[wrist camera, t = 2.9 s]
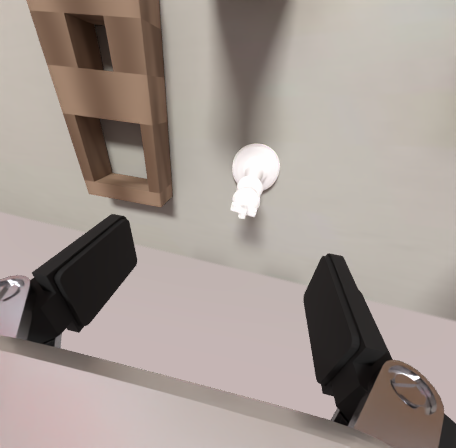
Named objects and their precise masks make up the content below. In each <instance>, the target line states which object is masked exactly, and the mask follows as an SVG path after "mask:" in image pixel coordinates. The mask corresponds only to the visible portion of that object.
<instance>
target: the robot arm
mask: <svg viewBox="0 0 456 448" xmlns="http://www.w3.org/2000/svg"><path fill="white" fill-rule="evenodd" d="M136 264H137V257H136V252H135V248H134V242H133V237H132V233H131V228H130V223H129V221H128V220H127V219H126V217H124V216H120V215H115V214H112V215H110V216H108V217H107V218H106V219H104V220H103V221H102V222H100V223H99V224H97V225H96V226H95V227H93V228H92V229H91V230H89V231H88V232H87V233H85V234H84V235H83V236H81V237H80V238H78V239H77V240H76V241H74V242H73V243H72V244H70V245H69V246H68V247H66V248H65V249H63V250H62V251H61V252H59V253H58V254H57V255H55V256H54V257H53V258H51V259H50V260H48V261H47V262H46V263H44V264H43V265H42V266H40V267H39V268H38V269H36V270H35V271H34V272H32V274H33V276H34V278H33V279H32V280H30V279H29V278H27V277H25V276H17V275H16V276H10V277H6V278H3V279H0V448H456V424H455V423H454V422H453V421H452V420H451V419H450V418H449V417H448V416H446V415H445V414H444V406H443V404H442V401H441V398H440V396H439V394H438V393H437V391H436V390H435V388H434V387H433V386H432V384H431V383H430V382H429V381H428V380H427V379H426V378H425V377H424V376H423V375H422V374H421V373H420V372H419V371H418V370H416V369H415V368H413V367H411V366H410V365H408V364H406V363H404V362H401V361H398V360H392V358H391V355H390V353H389V351H388V349H387V347H386V345H385V343H384V340H383V338H382V336H381V334H380V332H379V330H378V327H377V325H376V323H375V321H374V319H373V317H372V314H371V313H370V310H369V308H368V306H367V304H366V302H365V299H364V297H363V295H362V293H361V292H360V291H359V290H358V288H357V286H356V284H355V282H354V279H353V277H352V275H351V273H350V271H349V268H348V266H347V264H346V262H345V260H344V258H343V256H339V255H334V254H327V255H326V256H322V258H321V260H320V262H319V264H318V266H317V268H316V270H315V272H314V275H313V277H312V279H311V281H310V283H309V285H308V287H307V290H306V292H305V294H304V307H305V313H306V319H307V325H308V331H309V337H310V343H311V350H312V356H313V362H314V367H315V374H316V379H317V382H318V383H320V384H321V386H322V391H323V394H327V395H331V396H334V398H335V403H336V406H337V410H336V412H335V414H334V415H333V417H332V419H331V421H330V420H327V419H324V418H320V417H317V416H313V415H310V414H306V413H303V412H299V411H296V410H292V409H289V408H285V407H282V406H279V405H275V404H271V403H267V402H264V401H260V400H256V399H252V398H249V397H245V396H241V395H237V394H234V393H230V392H226V391H222V390H218V389H215V388H211V387H207V386H203V385H199V384H196V383H192V382H188V381H184V380H181V379H176V378H173V377H169V376H165V375H162V374H158V373H154V372H150V371H146V370H142V369H138V368H134V367H131V366H127V365H123V364H119V363H115V362H111V361H107V360H104V359H99V358H96V357H92V356H88V355H84V354H80V353H76V352H72V351H68V350H64V349H61V348H60V347H61V335H62V332H63V331H64V330H65V329H66V328H67V329H68V330H71V331H75V332H80V331H81V329H82V328H83V327H84V326H86V325H88V324H89V323H90V322H91V321H92V320H93V319H94V317H95V316H96V315H97V314H98V312H99V311H100V310H101V309H102V307H103V306H104V305H105V303H106V302H107V301H108V300H109V299H110V297H111V296H112V295H113V293H114V292H115V291H116V290H117V289H118V287H119V286H120V285H121V283H122V282H123V281H124V280H125V278H126V277H127V276H128V275H129V273H130V272H131V271H132V270H133V268H134V267H135V266H136Z"/></svg>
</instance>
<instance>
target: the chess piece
mask: <svg viewBox="0 0 456 448" xmlns="http://www.w3.org/2000/svg"><path fill="white" fill-rule="evenodd" d="M279 171H280V162H279V159H278V156H277V154H276V153H275V152H274V151H273V150H272V149H271V148H270V147H268V146H266V145H264V144H259V143H253V144H249V145H246V146H244V147H243V148H241V149H240V150H239V151H238V152H237V154H236V155H235V157H234V160H233V164H232V173H233V177H234V179H235V181H236V182H237V191H236V192H235V194H234V195H233V199H232V202H233V203H232V206H231V211H235V212H238V213H239V215H238V218H241V219H245V216H246V215H249V216H252V217H255V215H256V212H257V209H258V208H259V205H260V196H261V194H262V192H263V190H266V189H268V188H269V187H270V186H272V185H273V184H274V182H275V181H276V179H277V177H278V175H279Z"/></svg>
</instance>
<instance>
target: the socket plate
mask: <svg viewBox="0 0 456 448" xmlns="http://www.w3.org/2000/svg"><path fill="white" fill-rule="evenodd" d="M26 1H27V4H28V7H29V10H30V13H31V16H32V19H33V22H34V25H35V28H36V31H37V35H38V38H39V41H40V44H41V47H42V50H43V53H44V56H45V59H46V62H47V65H48V69H49V72H50V75H51V78H52V81H53V84H54V87H55V90H56V93H57V96H58V99H59V103H60V106H61V109H62V112H63V115H64V118H65V121H66V124H67V127H68V130H69V133H70V137H71V140H72V143H73V146H74V149H75V152H76V155H77V158H78V161H79V164H80V167H81V171H82V174H83V177H84V180H85V183H86V186H87V189H88V192H89V194H93V195H98V196H103V197H109V198H114V199H119V200H125V201H130V202H135V203H141V204H146V205H151V206H157V207H162V206H163V205H164V204H165V203H166V202H167V201H168V200H169V199H170V198H171V197H172V196H173V193H172V179H171V164H170V150H169V135H168V121H167V106H166V92H165V78H164V63H163V49H162V34H161V20H160V6H159V0H26ZM95 25H105V28H106V34H107V39H108V45H109V50H110V56H111V61H112V67H113V71H104V70H103V65H102V60H101V55H100V50H99V45H98V40H97V35H96V30H95ZM99 118H101V119H108V120H116V121H123V122H130V123H138V124H140V128H141V136H142V143H143V150H144V157H145V164H146V172H147V179H144V178H138V177H132V176H127V175H121V174H115V173H112V170H111V165H110V161H109V157H108V153H107V148H106V144H105V140H104V136H103V132H102V127H101V123H100V119H99Z"/></svg>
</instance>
